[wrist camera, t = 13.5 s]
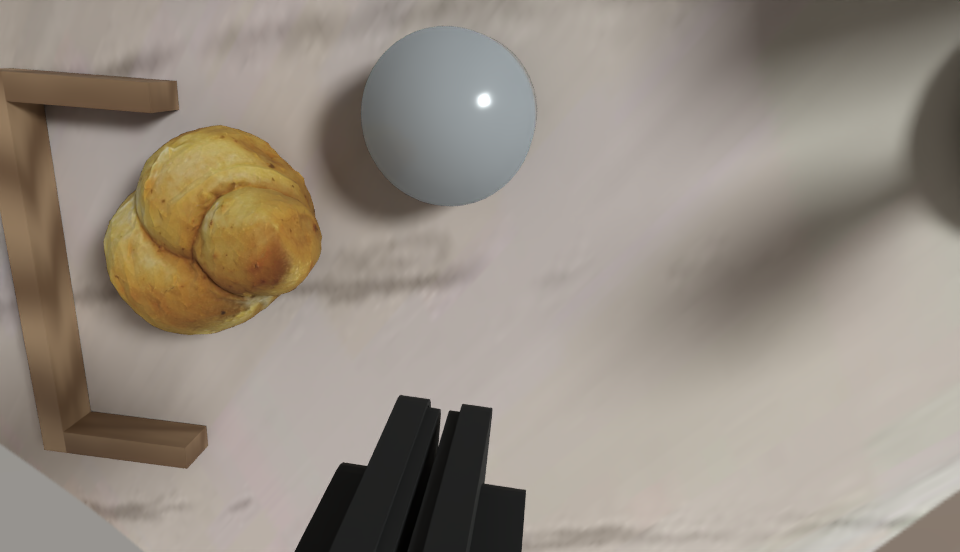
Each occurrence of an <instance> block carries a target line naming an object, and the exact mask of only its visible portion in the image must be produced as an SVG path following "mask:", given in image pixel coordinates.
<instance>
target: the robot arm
mask: <svg viewBox="0 0 960 552" xmlns="http://www.w3.org/2000/svg"><path fill="white" fill-rule="evenodd" d="M440 417H441V410H440V409H436V408H431V402H430V399H424V398H417V397H410V396H403V395H400V396H399V397H398V399H397V401H396V403H395V405H394V408H393V410H392V412H391V414H390V417H389V419H388V421H387V423H386V426H385V428H384V430H383V432H382V435H381V437H380V439H379V441H378V443H377V446H376V448H375V450H374V452H373V455H372V457H371V459H370V461H369V464H368V466H363V465H357V464H350V463H344V462H343V463H342V464H340V465H339V467H338V469H337V470H336V472H335V474H334V476H333V478H332V480H331V482H330V484H329V486H328V488H327V489H326V491H325V493H324V495H323V497H322V499H321V501H320V503H319V505H318V507H317V509H316V511H315V513H314V515H313V517H312V519H311V521H310V523H309V524H308V526H307V528H306V530H305V532H304V534H303V536H302V538H301V540H300V542H299V544H298V546H297V548H296V550H295V552H521V550H522V537H523V524H524V510H525V497H526V490H522V489H515V488H509V487H502V486H495V485H489V484H484V482H485V473H486V464H487V455H488V446H489V437H490V428H491V419H492V408H488V407H481V406H474V405H467V404H462V407H461V410H460V412H457V411H449V413H448V416H447V420H446V423H445V426H444V430H443V433H442V436H441V440H440V443H439V430H440ZM438 444H439V447H438Z"/></svg>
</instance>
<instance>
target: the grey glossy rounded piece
mask: <svg viewBox="0 0 960 552" xmlns="http://www.w3.org/2000/svg"><path fill="white" fill-rule="evenodd" d="M536 120H537V103H536V96H535V91H534V87H533V84H532V82H531V79H530V77H529V75H528V73H527V71H526V69H525V67H524V66H523V65H522V63H521V62H520V60H519V59H518V58H517V57H516V56H515V55H514V54H513V53H512V52H511V51H510V50H509V49H508V48H507V47H505V46H504V45H503V44H501V43H500V42H498V41H496V40H495V39H493V38H490V37H488V36H486V35H483V34H481V33H478V32H475V31H472V30H469V29H465V28H460V27H454V26H437V27H430V28H426V29H422V30H419V31H416V32H414V33H411V34H409V35H407V36H405V37H404V38H402V39H400V40H399V41H397V42H396V43H395V44H393V45H392V46H391V47H390V48H389V49H388V50H387V51H386V52H385V53H384V54H383V55H382V56H381V57H380V59H379V60H378V62H377V63H376V65H375V66H374V67H373V69H372V71H371V73H370V75H369V77H368V80H367V83H366V86H365V89H364V93H363V98H362V105H361V123H362V130H363V135H364V139H365V142H366V145H367V148H368V150H369V153H370V155H371V157H372V159H373V160H374V162H375V164H376V165H377V167H378V168H379V170H380V171H381V172H382V174H383V175H384V176H385V177H386V178H387V179H388V180H389V181H390V182H391V183H392V184H393V185H394V186H396V187H397V188H398V189H399V190H401V191H402V192H404V193H406V194H407V195H409V196H410V197H413V198H415V199H417V200H420V201H422V202H426V203H429V204H434V205H440V206H460V205H466V204H470V203H474V202H477V201H480V200H482V199H485V198H487V197H488V196H490V195H492V194H494V193H495V192H497V191H498V190H500V189H501V188H502V187H503V186H505V185H506V184H507V183H508V182H509V181H510V180H511V179H512V177H513V176H514V175H515V174H516V173H517V171H518V170H519V168H520V167H521V165H522V163H523V162H524V160H525V157H526V155H527V153H528V151H529V148H530V144H531V141H532V138H533V135H534V131H535V126H536Z"/></svg>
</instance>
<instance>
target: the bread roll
mask: <svg viewBox="0 0 960 552" xmlns="http://www.w3.org/2000/svg"><path fill="white" fill-rule="evenodd" d="M321 239H322V235H321V232H320V228H319V225H318V223H317V220H316V218H315V210H314V206H313V202H312V199H311V196H310V193H309V192H308V190H307V188H306V186H305V182H304V178H303V177H302V176H301V175H300V173H299V172H297V171H295V170H294V169H293V168H292V167H291V166H290V165H289V164H288V163H287V162H286V161H285V160H283V159H282V158H281V157H280V156H279V155H278V154H277V152H276V151H275V150H274V149H272V148H271V147H270V145H269V144H268V143H267V142H265V141H264V140H262V139H260V138H258V137H256V136H254V135H252V134H250V133H247V132H244V131H241V130H239V129H234V128H230V127H227V126H222V125H218V126H210V127H205V128H199V129H197V130H194V131H189V132H186V133H183V134H181V135H179V136H178V137H175V138H173V139H171V140H170V141H169V142H167V143H166V144H164V145H163V146H162V147H161V148H159V149H158V150H157V151H156V152H155V153H154V154H153V155H152V156H151V157H150V158H149V159H148V160H147V161H146V163H145V165H144V168H143V170H142V172H141V175H140V178H139V182H138V185H137V188H136V190H135V191H134V192H133V193H131V194H130V195H129V196H128V197H127V198H126V200H125V201H124V202H123V203H122V204H121V205H120V207H119V208H118V210H117V212H116V214H115V215H114V216H113V217H112V219H111V220H110V221H109V225H108V229H107V231H106V234H105V238H104V252H105V257H106V262H107V270H108V274H109V276H110V281H111V282H112V284H113V285H114V286H115V288H116V290H117V291H118V293H119V295H120V296H121V298H122V299H123V300H124V301H125V302H126V303H127V304H128V305H129V306H130V307H131V308H132V309H133V310H134V312H135V313H137V314H138V315H140V316H141V317H142V318H143V319H144V320H146V321H147V322H148V323H150V324H151V325H152V326H155V327H157V328H159V329H162V330H164V331H168V332H173V333H179V334H186V335H193V334H212V333H217V332H219V331H222V330H225V329H228V328H231V327H234V326H236V325H239V324H241V323H244V322H246V321H247V320H249V319H251V318H252V317H254V316H255V315H256V314H257V313H259V312H260V311H262V310H263V309H265V308H266V307H268V306H269V305H270V304H271V303H272V302H273V301H274V300H275V299H276V298H277V297H278V296H280V295H281V294H284V293H288V292H290V291H292V290H294V289H295V288H296V287H297V286H298V285H299V284H300V283H301V282H302V281H303V280H304V279H305V278H306V277H307V275H308V274H309V273H310V271H311V270H312V268H313V267H314V265H315V264H316V262H317V261H318V259H319V256H320V253H321Z"/></svg>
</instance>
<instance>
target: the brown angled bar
mask: <svg viewBox="0 0 960 552" xmlns="http://www.w3.org/2000/svg"><path fill="white" fill-rule="evenodd" d="M44 104H47V105H59V106H71V107H83V108H96V109H108V110H120V111H132V112H144V113H156V112H164V111H172V110H179V104H178V92H177V81H169V80H156V79H143V78H130V77H117V76H104V75H91V74H79V73H66V72H53V71H40V70H27V69H14V68H9V69H0V212H1V218H2V223H3V229H4V234H5V239H6V245H7V250H8V256H9V261H10V266H11V272H12V277H13V283H14V288H15V293H16V299H17V304H18V310H19V315H20V320H21V326H22V331H23V337H24V342H25V347H26V353H27V358H28V364H29V369H30V374H31V380H32V385H33V391H34V396H35V401H36V407H37V412H38V418H39V423H40V428H41V434H42V439H43V445H44V450H50V451H57V452H65V453H72V454H80V455H87V456H95V457H103V458H110V459H118V460H125V461H133V462H140V463H148V464H156V465H163V466H171V467H178V468H186V469H187V468H188V467H189V466H190V465H191V464H192V463H193V462H194V461H195V459H196V458H197V457H198V456H199V455H200V454H201V453H202V452H203V451H204V450H205V448H206V447H207V446H208V440H207V429H206V426H202V425H194V424H186V423H179V422H171V421H163V420H155V419H147V418H139V417H131V416H123V415H115V414H107V413H99V412H91V409H90V403H89V396H88V390H87V383H86V377H85V370H84V364H83V357H82V351H81V344H80V338H79V331H78V325H77V318H76V312H75V305H74V299H73V292H72V286H71V279H70V273H69V266H68V260H67V253H66V247H65V240H64V234H63V227H62V221H61V214H60V208H59V201H58V195H57V188H56V182H55V175H54V169H53V162H52V156H51V149H50V142H49V136H48V129H47V123H46V116H45V110H44Z"/></svg>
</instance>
